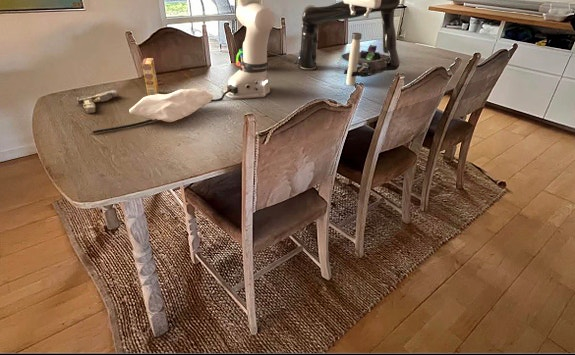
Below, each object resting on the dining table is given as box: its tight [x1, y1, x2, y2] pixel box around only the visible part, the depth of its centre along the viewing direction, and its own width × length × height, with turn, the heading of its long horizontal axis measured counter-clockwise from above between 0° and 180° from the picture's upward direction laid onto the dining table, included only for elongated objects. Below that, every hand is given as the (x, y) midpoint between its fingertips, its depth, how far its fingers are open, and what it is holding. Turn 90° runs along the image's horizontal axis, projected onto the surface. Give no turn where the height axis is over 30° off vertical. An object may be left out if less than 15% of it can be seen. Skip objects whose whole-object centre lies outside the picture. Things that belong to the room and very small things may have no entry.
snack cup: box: [235, 47, 243, 63], centre depth 205 cm, size 16×10×10 cm
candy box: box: [141, 57, 160, 96], centre depth 163 cm, size 9×4×15 cm, turn 13°
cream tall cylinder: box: [345, 39, 361, 87], centre depth 184 cm, size 5×5×25 cm
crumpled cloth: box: [129, 88, 214, 123], centre depth 147 cm, size 24×35×9 cm
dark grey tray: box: [341, 44, 390, 65], centre depth 232 cm, size 35×35×9 cm
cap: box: [351, 32, 363, 40], centre depth 178 cm, size 5×5×2 cm
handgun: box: [76, 89, 120, 114], centre depth 155 cm, size 3×18×15 cm
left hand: (359, 16), depth 173 cm, fingers open, 7 cm apart
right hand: (348, 73), depth 186 cm, fingers closed on cream tall cylinder, 4 cm apart
